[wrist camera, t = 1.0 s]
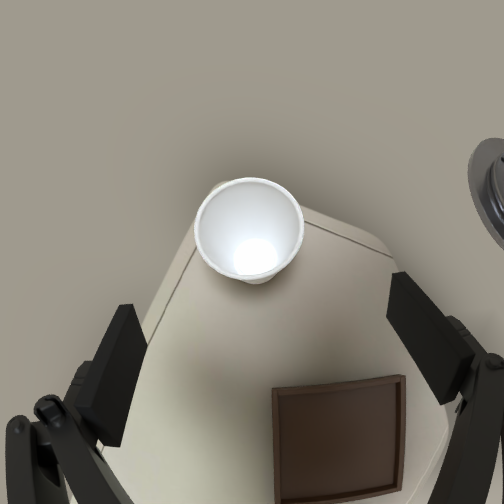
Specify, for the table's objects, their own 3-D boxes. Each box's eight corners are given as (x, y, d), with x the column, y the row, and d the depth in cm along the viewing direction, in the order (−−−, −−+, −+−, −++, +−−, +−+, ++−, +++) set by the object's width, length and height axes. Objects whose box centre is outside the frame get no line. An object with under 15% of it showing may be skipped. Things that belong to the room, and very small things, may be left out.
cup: (306, 235, 39) (317, 194, 29) (281, 312, 36) (283, 295, 26) (232, 212, 41) (218, 165, 30) (202, 284, 38) (176, 258, 28)
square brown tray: (399, 374, 33) (405, 375, 31) (396, 485, 28) (401, 490, 26) (271, 387, 34) (271, 390, 32) (274, 501, 29) (274, 508, 27)
